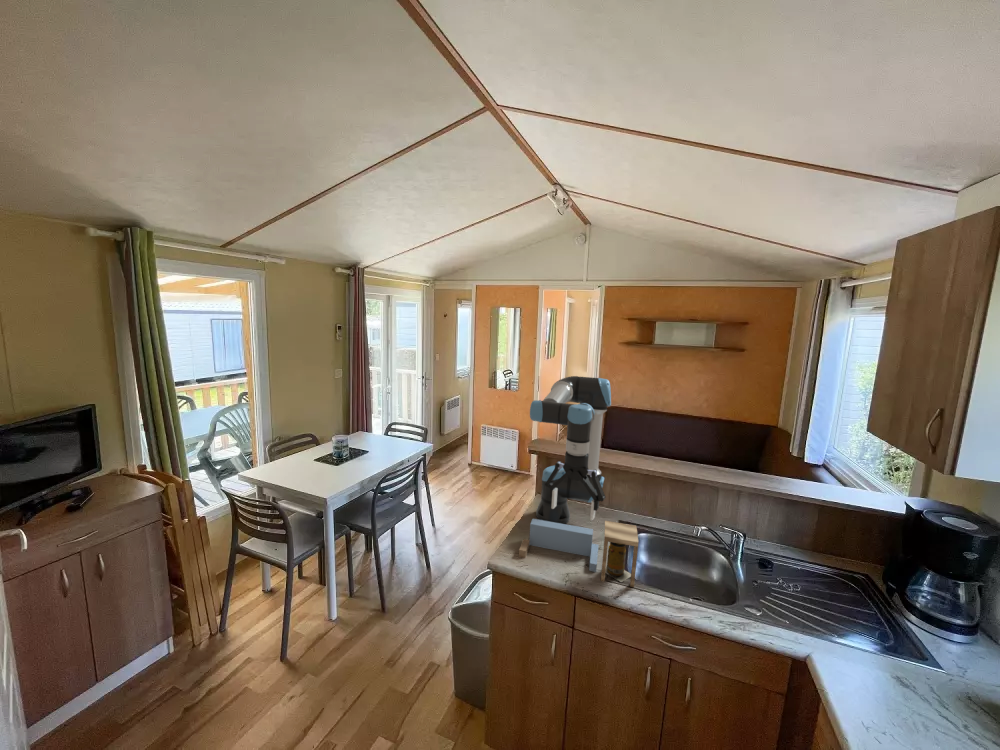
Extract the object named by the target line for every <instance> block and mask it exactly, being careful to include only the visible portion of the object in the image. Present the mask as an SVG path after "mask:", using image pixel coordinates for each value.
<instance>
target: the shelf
mask: <svg viewBox="0 0 1000 750" xmlns="http://www.w3.org/2000/svg"><path fill="white" fill-rule="evenodd" d="M638 535H639V534H638V528H637V525H633V524H628V523H621V522H616V521H610V520H609V521H608V520H604V536H603V537H604V538H603V539H604V540H603V550H602V551H603V552H602V562H601V564H602V565H601V570H602V571H601V575H600V582H605V578H606V573H605V570H606V567H607V559H608V548H609V543H610V542H613V543H619V544H625V546H632V547H633V551H632V560H631V561H632V562H631V572H630V573H631V577H630V580H629V582H630V583H629V586H630V588H635V582H636V581H635V579H636V571H637V570H636V569H637V560H638V554H639V553H638V552H639V551H638V550H639V536H638Z"/></svg>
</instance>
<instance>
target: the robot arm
mask: <svg viewBox="0 0 1000 750" xmlns="http://www.w3.org/2000/svg"><path fill="white" fill-rule="evenodd" d="M611 390H612V388H611V383H610V380H609V379H607V378H602V377H590V376H589V377H588V376H577V375H572V376H571V375H570V376H567V377H563V378H561V379H559V380H557V381H556V382H554V383H553V384H552V386H551V388H550V391H549V393H547V395H546V396H545V398H544V399H542V400H541V399H540V400H538V399H537V400H533V401H531V404H530V408H529V417H530V420H531V421H533V422H538V423H544V424H545V423H546V424H553V425H563V426H567V428H566V440H565V441H566V442H565V453H564V454H565V455H564V463H563V462H562V461H560V460H558V461H557V462H556V463H554V465H550V466H548V467H546V468H544V470H543V471H542V477H541V495H540V501H539V502H538V506H537V508H536V510H535V511H536V513H535V514H536V515H535V517H536V519H538V520H543V521H549V522H555V523H561V524H566V525H567V523H569V522H570V519H571V513H570V508H569V504H568V499H569V500H574V501H580V502H585V503H589V504H590V503H591V504H590V514H589V516H590V518H589V520H590V521H593V520H594V519H595V518H596V512H597V511H599V509H600V508H599V507H600V502H604V500H606V495H605V491H604V488H603V487H604V483H605V482H604V481H605V477H604V476H602V470H600V468H599V466H600V465H599V463H600V455H601V441H602V430H603V421H604V420H603V419H604V413H606V412H607V411H608V408H609V407H611V406H612V392H611ZM568 402H569V403H568ZM573 403H574V404H573Z"/></svg>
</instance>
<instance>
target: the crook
mask: <svg viewBox="0 0 1000 750" xmlns="http://www.w3.org/2000/svg"><path fill="white" fill-rule="evenodd" d="M529 524H530V525H529V539H528V540H530V542H529V546H533V547H539V548H544V549H548V550H553V551H560V552H564V553H569V554H575V555H578V556H580V555H581V556H584V557H589V569H588V570H589V571H590V572H594V573H597V567H598V558H599V555H598V554H599V544H596V543H593V537H594V536H593V535H594V529H593V528H590V527H589V528H588V527H584V526H583V527H582V526H578V525H570V524H567V523H566V524H561V523H555V522H549V521H543V520H538V518H532V519H531V522H530V523H529Z"/></svg>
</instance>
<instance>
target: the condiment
mask: <svg viewBox="0 0 1000 750" xmlns="http://www.w3.org/2000/svg"><path fill="white" fill-rule="evenodd" d="M626 553H627V550H626V545H625V544H619V543H613V542H609V545H608V548H607V558H606V570H605V575H608V576H610V577H611V578H614V579H615V580H616V581H619V582H620V583H623V582H625V581H626V580H628V579H629V578H631V572H628V571H627V570H625V566H626V565H625V564H626ZM600 571H601V572H602V569H601V570H600Z"/></svg>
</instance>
